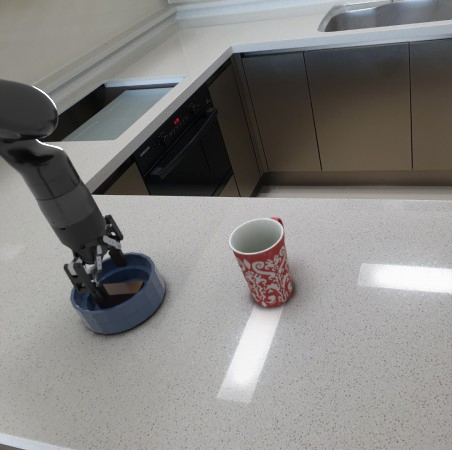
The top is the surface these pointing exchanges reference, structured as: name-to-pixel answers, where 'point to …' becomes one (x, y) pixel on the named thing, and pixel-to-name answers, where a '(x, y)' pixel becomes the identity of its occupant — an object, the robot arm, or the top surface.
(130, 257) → the bowl
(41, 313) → the top surface
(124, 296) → the bar
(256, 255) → the mug
